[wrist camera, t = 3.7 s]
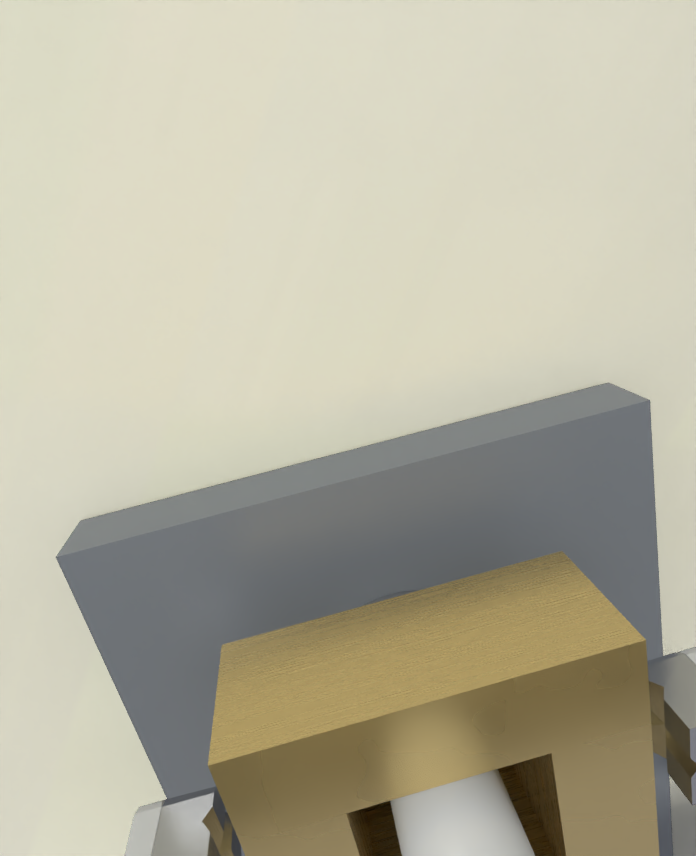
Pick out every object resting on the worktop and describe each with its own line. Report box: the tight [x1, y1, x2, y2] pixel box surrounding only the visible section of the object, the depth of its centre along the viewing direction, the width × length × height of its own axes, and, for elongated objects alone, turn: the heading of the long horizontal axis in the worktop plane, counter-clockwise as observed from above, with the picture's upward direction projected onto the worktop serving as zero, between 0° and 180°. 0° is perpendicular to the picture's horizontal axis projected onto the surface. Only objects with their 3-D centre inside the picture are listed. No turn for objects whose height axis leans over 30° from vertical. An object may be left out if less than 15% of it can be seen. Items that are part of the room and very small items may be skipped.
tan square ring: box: [208, 551, 660, 856], centre depth 10 cm, size 6×6×2 cm
